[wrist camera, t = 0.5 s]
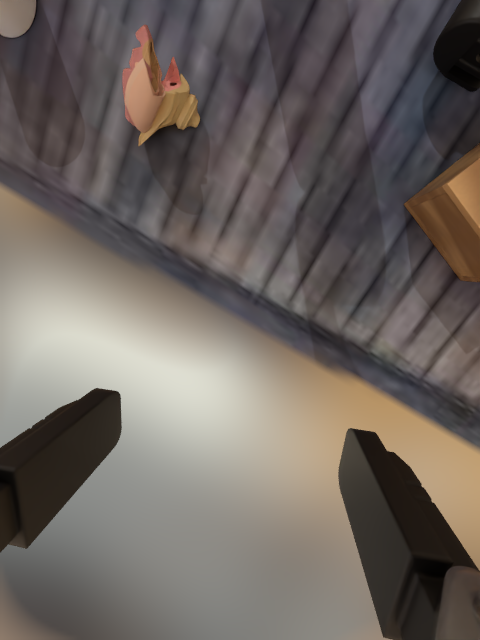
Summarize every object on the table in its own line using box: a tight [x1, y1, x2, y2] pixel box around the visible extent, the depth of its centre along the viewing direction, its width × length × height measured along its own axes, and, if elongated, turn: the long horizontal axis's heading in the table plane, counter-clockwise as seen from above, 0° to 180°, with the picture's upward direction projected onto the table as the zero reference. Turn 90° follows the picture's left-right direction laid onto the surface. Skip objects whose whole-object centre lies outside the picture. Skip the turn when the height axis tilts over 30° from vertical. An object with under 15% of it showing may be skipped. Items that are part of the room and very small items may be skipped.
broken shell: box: [123, 25, 200, 146], centre depth 30 cm, size 9×10×10 cm
